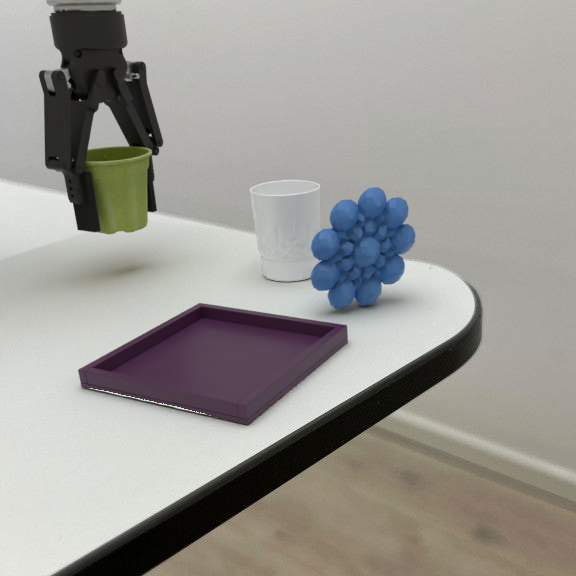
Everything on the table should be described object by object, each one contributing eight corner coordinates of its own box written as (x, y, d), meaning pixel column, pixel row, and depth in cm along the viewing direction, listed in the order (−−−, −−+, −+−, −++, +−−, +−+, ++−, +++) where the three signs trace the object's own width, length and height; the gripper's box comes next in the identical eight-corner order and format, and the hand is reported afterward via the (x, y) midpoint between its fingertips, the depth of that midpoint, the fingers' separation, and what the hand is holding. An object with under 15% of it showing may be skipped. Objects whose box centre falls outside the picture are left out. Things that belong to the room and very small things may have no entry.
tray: (81, 387, 64) (77, 369, 63) (201, 318, 77) (199, 302, 77) (248, 425, 57) (245, 405, 56) (348, 342, 70) (347, 325, 70)
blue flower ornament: (395, 283, 85) (393, 174, 80) (426, 302, 79) (426, 185, 74) (297, 303, 80) (289, 188, 75) (323, 324, 75) (315, 201, 70)
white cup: (305, 287, 85) (298, 197, 80) (244, 279, 88) (235, 192, 84) (336, 266, 91) (332, 181, 87) (279, 259, 94) (272, 178, 90)
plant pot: (121, 243, 85) (108, 163, 81) (61, 233, 89) (47, 157, 85) (178, 223, 92) (169, 149, 88) (120, 214, 96) (109, 143, 92)
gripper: (30, 10, 70) (74, 248, 80) (179, 6, 88) (200, 202, 97) (-27, 11, 73) (22, 241, 83) (128, 7, 91) (154, 197, 100)
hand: (118, 219), depth 90 cm, fingers closed on plant pot, 9 cm apart
